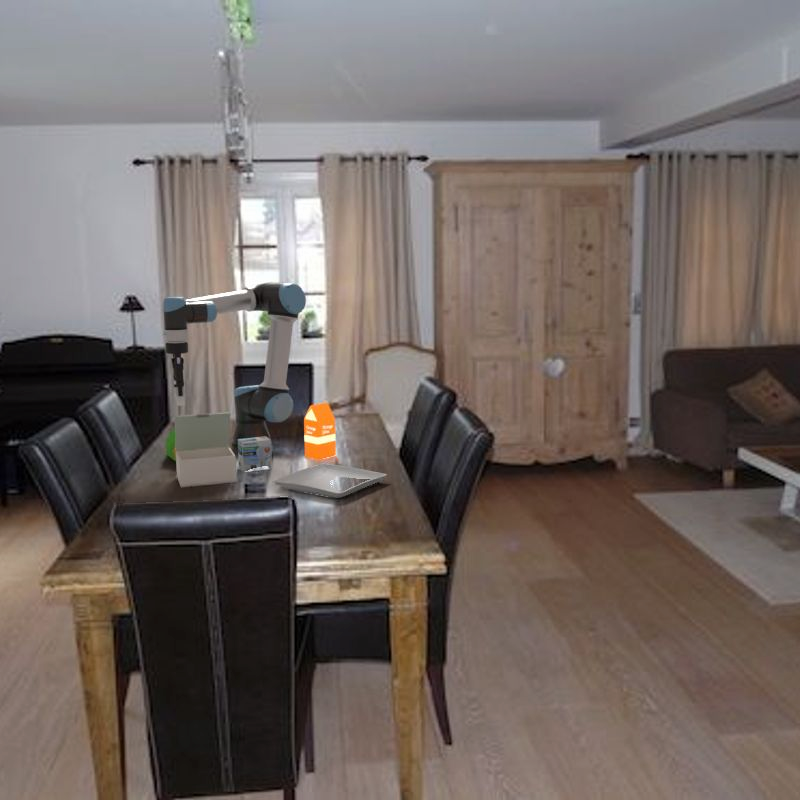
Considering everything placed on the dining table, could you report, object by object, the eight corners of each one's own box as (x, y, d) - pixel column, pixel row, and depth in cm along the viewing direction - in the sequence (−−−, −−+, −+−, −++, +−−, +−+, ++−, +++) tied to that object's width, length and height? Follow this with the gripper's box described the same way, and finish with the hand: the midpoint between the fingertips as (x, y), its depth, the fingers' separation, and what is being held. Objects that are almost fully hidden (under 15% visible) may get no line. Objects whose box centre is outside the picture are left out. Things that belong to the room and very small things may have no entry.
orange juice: (336, 456, 304) (335, 403, 301) (318, 460, 298) (317, 406, 294) (322, 452, 309) (321, 401, 306) (304, 456, 303) (303, 404, 300)
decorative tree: (171, 433, 288) (172, 414, 316) (160, 462, 289) (161, 441, 317) (202, 443, 291) (200, 423, 320) (191, 472, 292) (190, 450, 321)
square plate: (340, 504, 246) (339, 492, 245) (271, 491, 260) (270, 479, 260) (388, 483, 268) (388, 472, 268) (322, 472, 283) (322, 461, 282)
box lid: (229, 446, 281) (228, 444, 281) (230, 413, 273) (229, 411, 274) (175, 450, 275) (175, 449, 275) (175, 416, 267) (174, 415, 268)
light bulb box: (243, 473, 281) (242, 442, 279) (237, 468, 287) (236, 438, 285) (273, 469, 286) (272, 439, 284) (266, 465, 292) (265, 435, 290)
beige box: (230, 471, 282) (229, 446, 281) (236, 482, 270) (235, 455, 268) (176, 476, 276) (175, 451, 275) (180, 487, 263) (179, 460, 262)
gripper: (164, 338, 291) (167, 396, 295) (166, 345, 268) (170, 408, 272) (185, 338, 294) (188, 395, 297) (190, 344, 270) (193, 407, 274)
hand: (179, 402), depth 284 cm, fingers open, 13 cm apart
